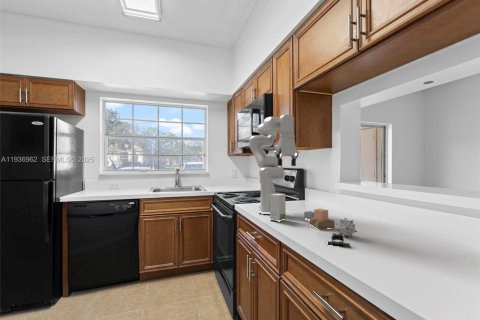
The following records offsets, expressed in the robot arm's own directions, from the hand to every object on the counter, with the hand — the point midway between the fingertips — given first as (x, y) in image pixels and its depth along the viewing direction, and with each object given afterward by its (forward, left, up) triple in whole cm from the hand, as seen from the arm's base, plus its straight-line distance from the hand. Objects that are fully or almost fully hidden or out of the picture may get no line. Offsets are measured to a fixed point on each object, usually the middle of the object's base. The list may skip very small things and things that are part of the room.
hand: (286, 165), depth 131 cm
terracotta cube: (+16, +10, -28) cm, 34 cm away
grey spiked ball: (+33, +8, -32) cm, 47 cm away
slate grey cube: (+2, +16, -32) cm, 36 cm away
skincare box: (-6, -2, -32) cm, 33 cm away
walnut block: (+16, +10, -33) cm, 38 cm away
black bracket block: (+39, -5, -33) cm, 51 cm away
